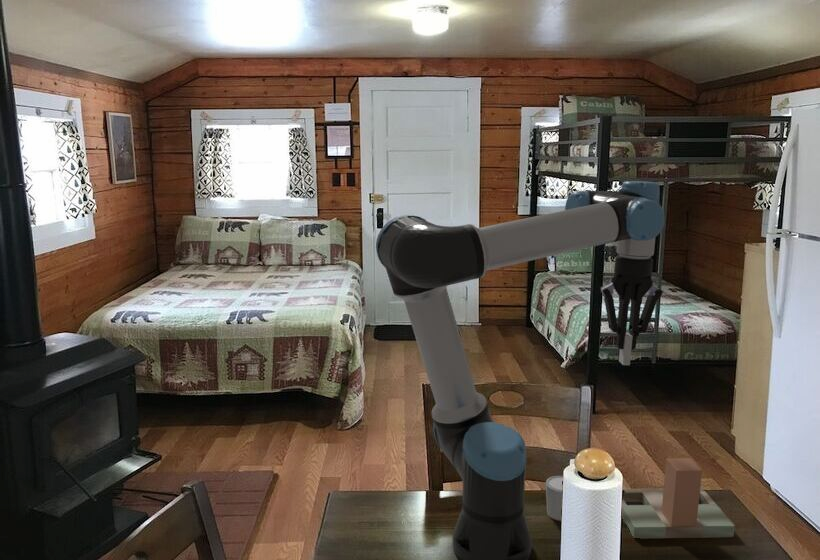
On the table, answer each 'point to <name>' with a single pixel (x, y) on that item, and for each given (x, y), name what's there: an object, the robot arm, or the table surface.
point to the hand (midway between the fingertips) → (624, 363)
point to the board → (650, 522)
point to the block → (681, 491)
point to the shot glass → (554, 496)
